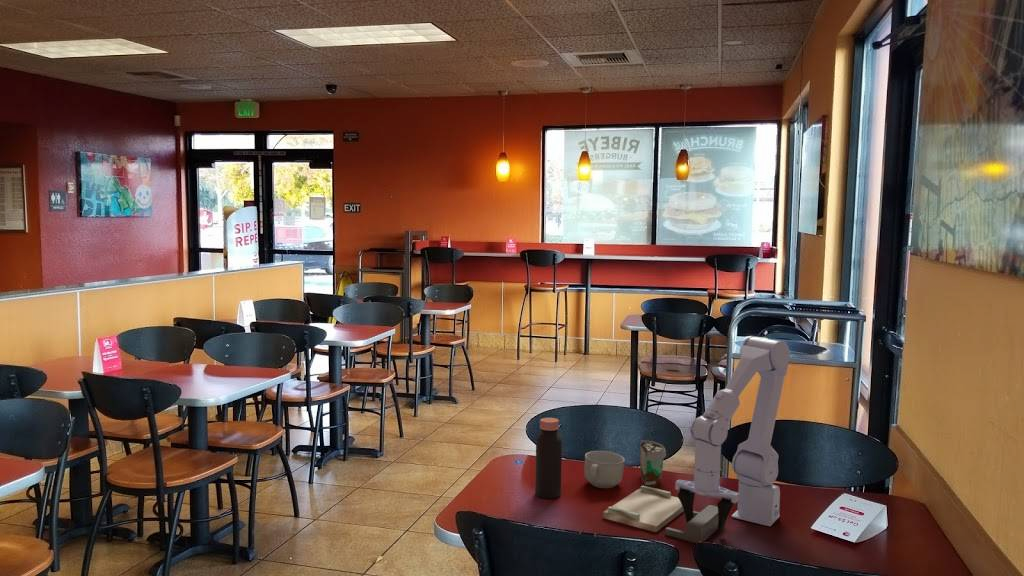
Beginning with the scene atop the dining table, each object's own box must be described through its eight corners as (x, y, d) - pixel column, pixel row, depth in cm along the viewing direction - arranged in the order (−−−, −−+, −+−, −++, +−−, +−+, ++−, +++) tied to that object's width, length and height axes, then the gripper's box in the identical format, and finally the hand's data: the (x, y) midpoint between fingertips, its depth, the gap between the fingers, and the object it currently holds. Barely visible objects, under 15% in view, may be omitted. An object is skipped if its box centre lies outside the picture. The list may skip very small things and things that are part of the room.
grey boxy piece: (722, 524, 183) (723, 508, 183) (700, 544, 172) (701, 527, 171) (689, 515, 188) (689, 500, 188) (665, 534, 177) (665, 518, 176)
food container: (669, 489, 206) (670, 453, 205) (646, 489, 206) (647, 453, 205) (661, 474, 218) (662, 439, 217) (639, 473, 218) (640, 439, 217)
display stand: (689, 506, 194) (690, 495, 194) (656, 532, 178) (656, 521, 178) (639, 493, 202) (639, 484, 202) (602, 517, 186) (603, 507, 186)
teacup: (598, 475, 217) (598, 447, 216) (631, 484, 210) (632, 455, 209) (569, 488, 206) (570, 459, 205) (603, 498, 199) (604, 468, 198)
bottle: (565, 497, 199) (566, 422, 197) (541, 500, 197) (542, 424, 195) (554, 488, 205) (555, 415, 203) (531, 491, 203) (532, 417, 201)
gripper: (670, 466, 178) (668, 523, 179) (732, 480, 170) (729, 539, 171) (682, 459, 184) (680, 513, 185) (742, 471, 175) (740, 528, 177)
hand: (705, 525), depth 178 cm, fingers open, 7 cm apart
